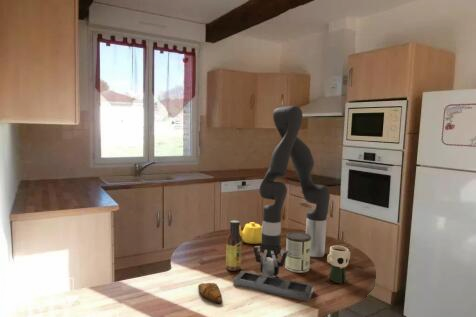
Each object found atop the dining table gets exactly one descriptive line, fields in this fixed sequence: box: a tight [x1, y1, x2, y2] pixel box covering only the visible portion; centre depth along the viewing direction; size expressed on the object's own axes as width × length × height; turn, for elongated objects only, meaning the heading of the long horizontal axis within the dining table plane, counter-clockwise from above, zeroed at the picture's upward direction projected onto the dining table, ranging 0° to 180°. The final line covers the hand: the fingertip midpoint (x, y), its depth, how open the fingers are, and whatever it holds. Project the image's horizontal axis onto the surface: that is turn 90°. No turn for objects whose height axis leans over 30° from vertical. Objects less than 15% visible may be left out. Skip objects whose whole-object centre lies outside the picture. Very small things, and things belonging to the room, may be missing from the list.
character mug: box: [326, 245, 351, 284], centre depth 130 cm, size 11×7×13 cm, turn 113°
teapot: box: [239, 221, 262, 245], centre depth 174 cm, size 14×13×10 cm
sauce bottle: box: [225, 219, 243, 272], centre depth 138 cm, size 7×6×20 cm
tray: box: [232, 270, 314, 302], centre depth 122 cm, size 8×28×2 cm, turn 68°
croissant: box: [197, 282, 223, 305], centre depth 115 cm, size 14×7×5 cm, turn 37°
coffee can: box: [284, 231, 311, 274], centre depth 142 cm, size 10×10×14 cm
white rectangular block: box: [261, 257, 277, 278], centre depth 132 cm, size 4×4×7 cm
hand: (269, 274), depth 132 cm, fingers closed on white rectangular block, 4 cm apart
